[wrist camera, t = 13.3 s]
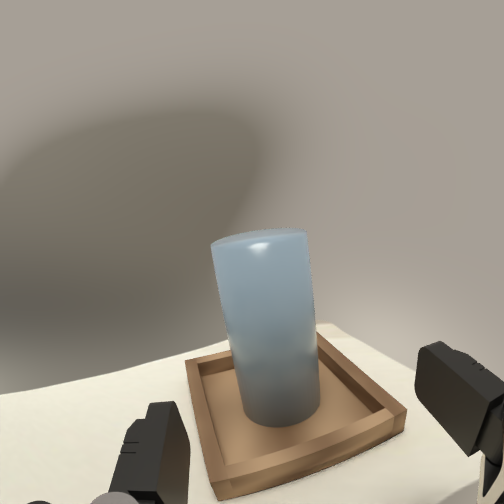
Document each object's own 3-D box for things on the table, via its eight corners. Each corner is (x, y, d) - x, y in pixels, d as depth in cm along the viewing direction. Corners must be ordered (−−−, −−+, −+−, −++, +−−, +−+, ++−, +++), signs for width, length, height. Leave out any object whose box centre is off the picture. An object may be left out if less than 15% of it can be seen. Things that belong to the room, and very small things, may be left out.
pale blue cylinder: (254, 436, 18) (218, 255, 15) (235, 391, 23) (205, 239, 21) (333, 410, 19) (323, 235, 17) (302, 372, 24) (286, 224, 22)
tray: (218, 501, 13) (210, 482, 13) (190, 378, 27) (184, 360, 26) (403, 431, 16) (407, 409, 16) (313, 345, 29) (312, 327, 29)
